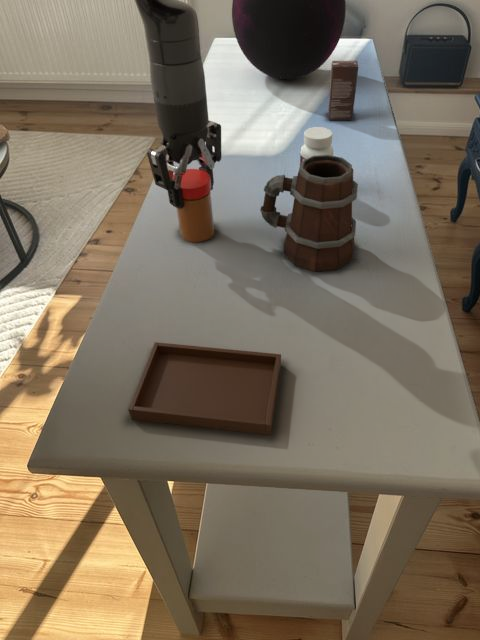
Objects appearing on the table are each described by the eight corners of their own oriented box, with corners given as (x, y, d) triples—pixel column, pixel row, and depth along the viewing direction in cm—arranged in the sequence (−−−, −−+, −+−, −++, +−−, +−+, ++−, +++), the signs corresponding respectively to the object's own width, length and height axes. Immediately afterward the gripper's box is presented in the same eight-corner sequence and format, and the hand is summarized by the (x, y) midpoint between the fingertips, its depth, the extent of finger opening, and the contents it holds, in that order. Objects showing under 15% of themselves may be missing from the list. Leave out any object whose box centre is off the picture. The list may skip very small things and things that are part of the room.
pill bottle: (306, 179, 99) (309, 123, 90) (334, 186, 97) (340, 129, 88) (293, 193, 95) (295, 135, 87) (322, 200, 93) (327, 142, 85)
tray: (131, 419, 59) (127, 409, 58) (157, 352, 67) (154, 341, 65) (270, 435, 57) (270, 425, 56) (280, 364, 65) (281, 354, 63)
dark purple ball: (335, 59, 149) (347, -69, 126) (342, 96, 128) (358, -48, 106) (238, 59, 150) (233, -68, 127) (230, 95, 129) (222, -48, 107)
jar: (179, 242, 84) (171, 192, 77) (182, 223, 88) (174, 173, 81) (213, 241, 84) (208, 191, 77) (214, 222, 88) (210, 173, 81)
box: (351, 113, 121) (357, 59, 112) (352, 121, 118) (359, 66, 109) (327, 113, 121) (331, 59, 112) (327, 120, 118) (332, 66, 109)
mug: (354, 233, 85) (366, 150, 74) (350, 276, 77) (364, 190, 66) (266, 225, 87) (266, 143, 76) (254, 266, 79) (252, 181, 68)
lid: (216, 194, 78) (215, 184, 77) (178, 202, 77) (176, 192, 76) (204, 176, 83) (203, 165, 81) (168, 183, 81) (166, 173, 80)
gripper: (161, 115, 63) (178, 224, 76) (232, 83, 71) (237, 187, 83) (123, 101, 66) (146, 208, 79) (195, 72, 74) (205, 174, 86)
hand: (193, 197), depth 81 cm, fingers closed on lid, 6 cm apart
